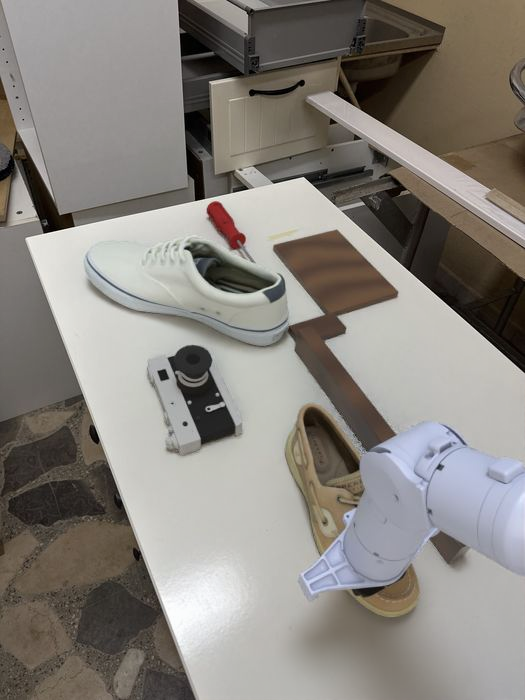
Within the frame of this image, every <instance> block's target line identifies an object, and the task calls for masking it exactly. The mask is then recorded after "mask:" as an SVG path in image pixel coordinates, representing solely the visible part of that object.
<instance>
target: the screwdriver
mask: <svg viewBox="0 0 525 700" xmlns="http://www.w3.org/2000/svg"><path fill="white" fill-rule="evenodd" d="M206 215H208V217H209V218H210V220H211V221H212V223H213V224H214V225H215V227H216V228H217V230H218V231H219V232H221V233H222V234H224V235H225V237H226V238H227V239H228V243H229V246H230V248H232V249H241V250H242V251H243V253H244V254H245V255H246V257H247V258H248V259H249V261H250V262H253V263H255V264H257V263H256V261H255V260H254V259H253V256H251V255H250V253H249V252H248V250H247V249H246V248H245V246H244V245H245V244H246V241H247V238H246V235H245V234H244V233H242V232H240V231H239V230H238V228H237V227H236V223H235V221H234V219H233V217H232V216H231V214H230V213H229V211H227V210H226V208H225V207H224V205H223V204H222V202H220V201H217V200H216V201H212V202H210V203H209V204H207V206H206Z"/></svg>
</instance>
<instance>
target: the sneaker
mask: <svg viewBox="0 0 525 700" xmlns="http://www.w3.org/2000/svg"><path fill="white" fill-rule="evenodd" d="M255 263H256V262H255ZM255 263H253V262H251V261H250V260H248V259H245V258H243V257H241V256H240V255H237V254H235V253H234V252H233V251H230V250H229V249H228V248H227V247H225V246H223V245H222V244H220V243H219V242H217V241H214V240H212V239H207V238H203V237H202V236H201V235H198V234H191V235H187V236H186V237H185V236H183V237H182V236H179V237H175V238H173V239H169V240H167V241H165V242H164V241H162V242H161V241H160V242H158V243H156V244H155V245H147V244H143V243H139V242H133V241H126V240H125V241H124V240H105V241H100V242H98V243H95V244H94V245H92V246H91V247H90V248H89V249H88V250H87V252H86V253H85V255H84V257H83V266H84V272H85V275H86V276H87V278H88V280H89V281H90V283H92V284H93V286H94V287H95V288H97V290H99V291H100V292H101V293H103V294H104V295H105V296H106V297H108V298H110V299H111V300H112V301H115V302H116V303H118V304H120V305H121V306H124V307H125V308H129V309H131V310H134V311H137V312H145V313H153V314H162V315H169V316H170V315H171V316H178V317H182V318H183V317H184V318H188V319H192V320H194V321H198V322H200V323H202V324H204V325H205V326H208V327H210V328H212V329H214V330H216V331H218V332H220V333H222V334H223V335H226V336H228V337H230V338H232V339H234V340H236V341H239V342H242V343H245V344H248V345H249V344H250V345H252V346H258V347H265V346H270V345H273V344H275V343H277V342H278V341H280V339H281V338H282V337H283V336H284V333H285V332H286V330H287V329H288V327H289V323H290V319H291V318H290V317H291V315H290V310H289V306H288V297H287V287H286V280H285V277H284V276H283V275H282V274H281V273H279V272H277V271H275V270H273V269H271V268H268V267H266V266H263V265H261V264H258V263H256V264H255Z"/></svg>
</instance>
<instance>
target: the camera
mask: <svg viewBox="0 0 525 700" xmlns="http://www.w3.org/2000/svg"><path fill="white" fill-rule="evenodd" d="M146 371H147V376H148V379H149V381H150V383H151V384H153V386H154V389H155V392H156V395H157V397H158V400H159V402H160V405H161V408H162V411H163V413H162V415H163V418H164V421H165V422H167V425H168V427H167V431H168V433H169V434H171V435H168V437H167V438H166V439H165V441H164V442H165V447H166V449H170V450H174V449H175V450H178V453H179V455H180V456H184V455H187V454H190V453H191V454H192V453H193V452H196V451H199V450H201V449H202V445H204V444H207V443H210V442H213V441H214V442H215V441H216V440H219V439H223V438H225V437H229V436H232V435H234V436H235V437H238V436H240V435H241V434H242V430H243V429H242V428H243V419H242V417H241V415H240V413H239V411H238V409H237V406H236V404H235V403H234V400H233V398H232V396H231V394H230V392H229V390H228V388H227V386H226V384H225V382H224V379H223V378H222V376H221V373H220V371H219V369H218V367H217V365H216V363H215V361H214V359H213V357H212V354H211V352H210V351H209V349H208V347H207V346H204V345H195V344H190V345H185V346H183V347H181V348H179V349H178V350H177V351H176V353H175V355H171V356H167V354H163V355H158V356H154V357H150V358H148V359H147V366H146Z"/></svg>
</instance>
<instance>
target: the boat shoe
mask: <svg viewBox="0 0 525 700" xmlns="http://www.w3.org/2000/svg"><path fill="white" fill-rule="evenodd" d="M284 452H285V458H286V462H287V464H288V468H289V470H290V473H291V475H292V476H293V478H294V481H295V483H296V484H297V486H298V488H299V489H300V491H301V492H302V495H303V496H304V497H305V500H306V503H307V506H308V511H309V515H310V522H311V529H312V533H313V538H314V541H315V544H316V546H317V549H318V552H319V554H320V557H321V556H322V555H323V553H324V552H325V551H326V550H327V549H328V548H329V547H330V545H331V544H332V543H333V542H334V541H335V540H336V539H337V537H338V536H339V535H340V534H341V533H342V532H343V531H344V529H345V528H346V526H345V524H344V522H343V520H342V519H343V516H344V514H345V513H346V512H348V511H351V510H353V509H355V508H357V506H358V504H359V502H360V499H361V497H362V495H363V492H364V490H365V487H364V485H363V482H362V479H361V475H360V460H361V457H362V456H361V454H360V453H359V452H358V450H357V448H356V447H355V445H354V444H353V443H352V441H351V440H350V438H349V437H348V436H347V435H346V433H345V431H344V430H343V428H342V427H341V426H340V424H339V422H338V421H337V420H336V418H334V417H333V416H332V414H331V413H329V411H327V410H326V409H325V408H324V407H322V406H321V405H319V404H317V403H314V402H313V403H312V402H311V403H310V402H309V403H306V404H304V405H302V406H301V408H300V409H299V411H298V414H297V417H296V420H295V423H294V425H293V427H292V429H291V431H290V432H289V434H288V436H287V438H286V441H285V447H284ZM419 583H420V582H419V579H418V576H417V573H416V571H415V568H414V565H413V562H412V563H411V564H410V565H409V567H408V568H407V569H406V574H405V576H404V577H403V578H402V579H401V580H399V581H397V582H396V583H394V584H392V585H390V586H388V587H387V586H385V589H383V590H381V591H379V592H378V593H376V594H374V595H372V596H369V597H365V598H363V597H362V596H361V595H360V596H355V595H354V593H353V592H352V590H351V589H347V590H346V592H347V593H349V595H351V596H352V597H353V598H354V599H355V600H356V601H357V602H358V603H359V604H361V605H362V606H363V607H365V608H366V609H367V610H369V611H370V612H372V613H374V614H376V615H379V616H382V617H385V618H396V617H397V618H398V617H400V616H404V615H406V614H408V613H410V612H411V611H412V610H414V608H415V607H416V606H417V605H418V603H419V600H420V593H421V590H420V584H419Z"/></svg>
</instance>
